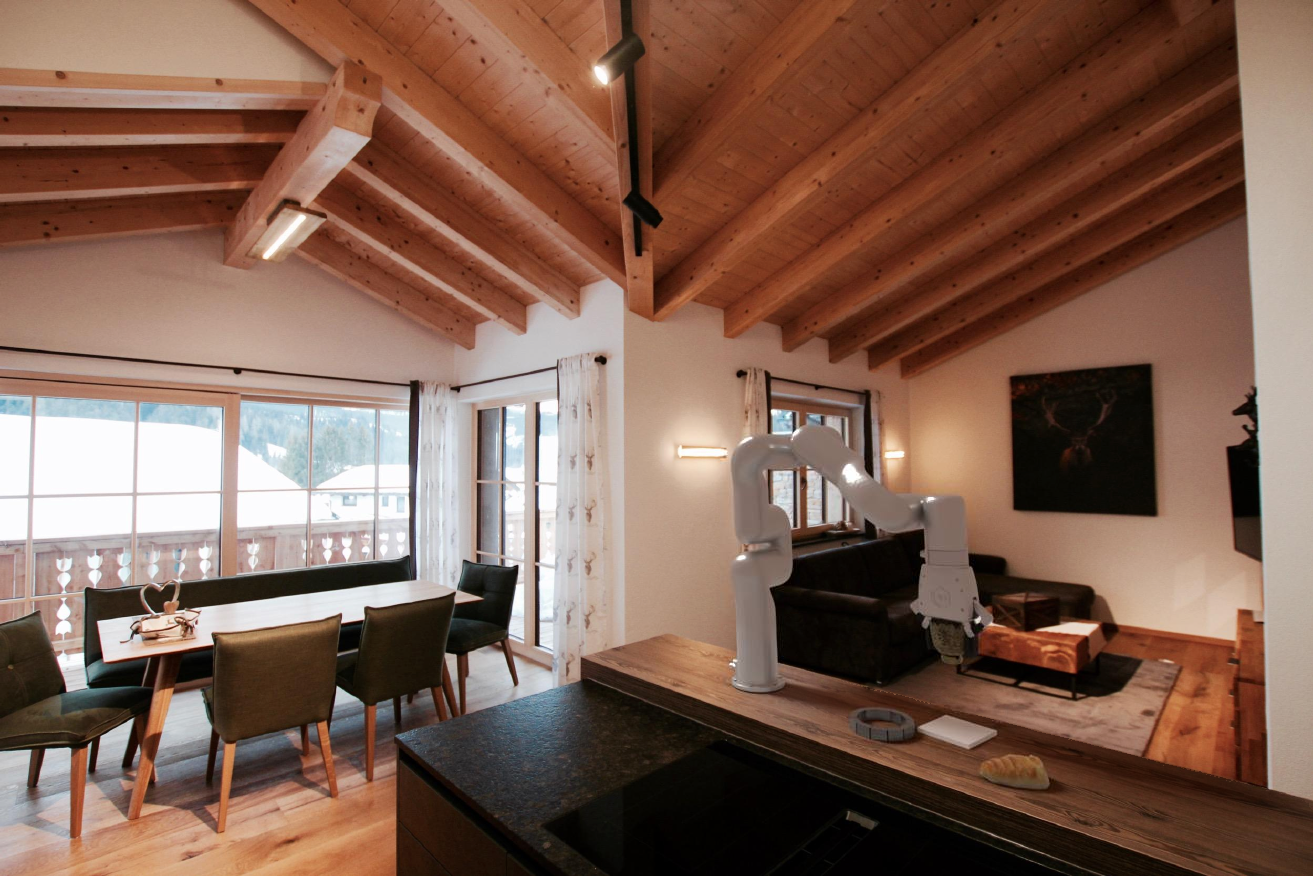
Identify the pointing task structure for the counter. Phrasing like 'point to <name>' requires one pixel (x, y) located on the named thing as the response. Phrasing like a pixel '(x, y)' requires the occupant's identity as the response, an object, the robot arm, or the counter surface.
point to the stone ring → (881, 732)
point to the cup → (948, 639)
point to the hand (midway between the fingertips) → (951, 652)
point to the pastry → (1016, 771)
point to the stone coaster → (957, 731)
